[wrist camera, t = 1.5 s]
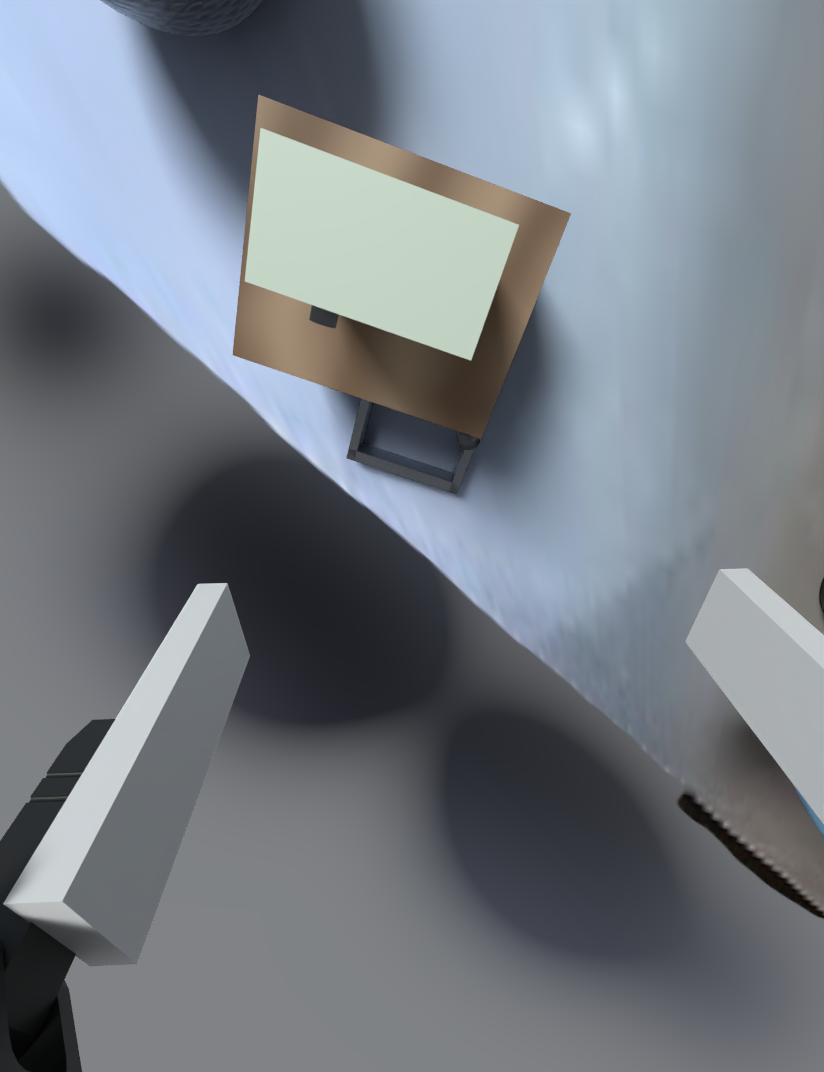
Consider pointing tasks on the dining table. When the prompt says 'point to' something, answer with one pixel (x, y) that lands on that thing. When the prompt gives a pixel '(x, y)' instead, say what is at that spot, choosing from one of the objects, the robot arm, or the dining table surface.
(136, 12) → the planter
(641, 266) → the dining table surface
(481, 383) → the wood-grain box
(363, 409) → the grey drawer
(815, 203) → the dining table surface
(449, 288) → the pale green block
